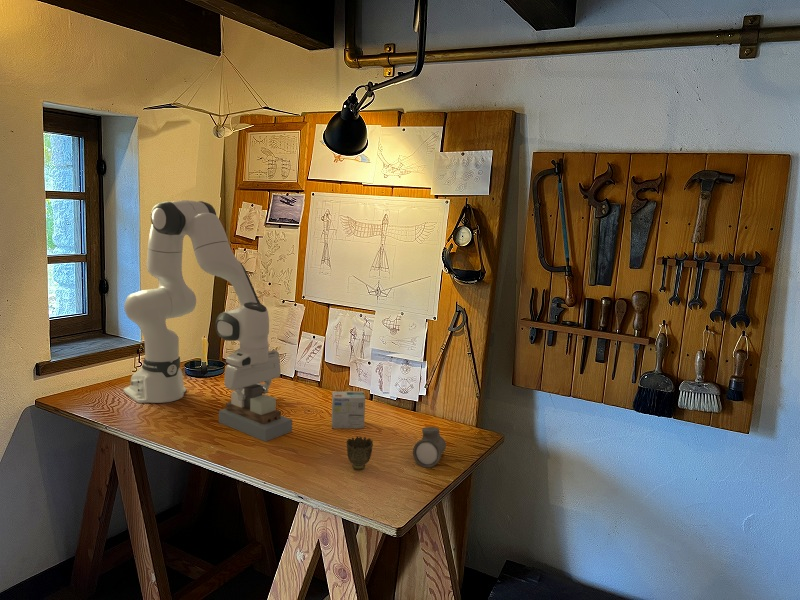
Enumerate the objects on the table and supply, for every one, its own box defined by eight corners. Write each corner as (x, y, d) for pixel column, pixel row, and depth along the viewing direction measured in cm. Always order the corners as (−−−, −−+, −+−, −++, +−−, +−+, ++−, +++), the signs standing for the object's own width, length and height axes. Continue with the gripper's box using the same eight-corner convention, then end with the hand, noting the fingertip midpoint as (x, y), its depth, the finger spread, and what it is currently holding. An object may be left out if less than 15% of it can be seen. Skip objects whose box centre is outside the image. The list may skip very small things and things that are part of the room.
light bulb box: (362, 421, 210) (364, 390, 208) (364, 428, 203) (366, 397, 201) (330, 421, 208) (331, 390, 206) (331, 429, 201) (333, 397, 200)
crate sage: (250, 410, 195) (250, 398, 195) (264, 406, 200) (264, 394, 199) (261, 415, 192) (261, 402, 192) (275, 410, 197) (275, 398, 197)
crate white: (231, 403, 200) (231, 391, 200) (245, 399, 205) (246, 387, 204) (241, 407, 198) (241, 395, 197) (256, 403, 202) (256, 391, 202)
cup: (345, 462, 178) (346, 435, 177) (371, 462, 179) (372, 436, 177) (345, 474, 171) (346, 446, 169) (372, 474, 172) (373, 447, 170)
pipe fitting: (438, 470, 176) (439, 434, 175) (411, 466, 179) (412, 430, 178) (450, 458, 187) (451, 424, 187) (425, 455, 190) (426, 421, 189)
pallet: (225, 409, 202) (226, 381, 200) (242, 404, 207) (243, 377, 205) (263, 424, 191) (264, 395, 190) (280, 418, 197) (281, 390, 195)
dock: (218, 422, 201) (218, 410, 200) (245, 413, 210) (245, 402, 209) (265, 441, 189) (265, 429, 188) (291, 431, 198) (292, 419, 197)
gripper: (272, 346, 206) (271, 386, 208) (221, 358, 189) (221, 401, 192) (285, 350, 202) (284, 391, 205) (235, 362, 186) (234, 407, 188)
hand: (253, 396), depth 198 cm, fingers open, 8 cm apart
